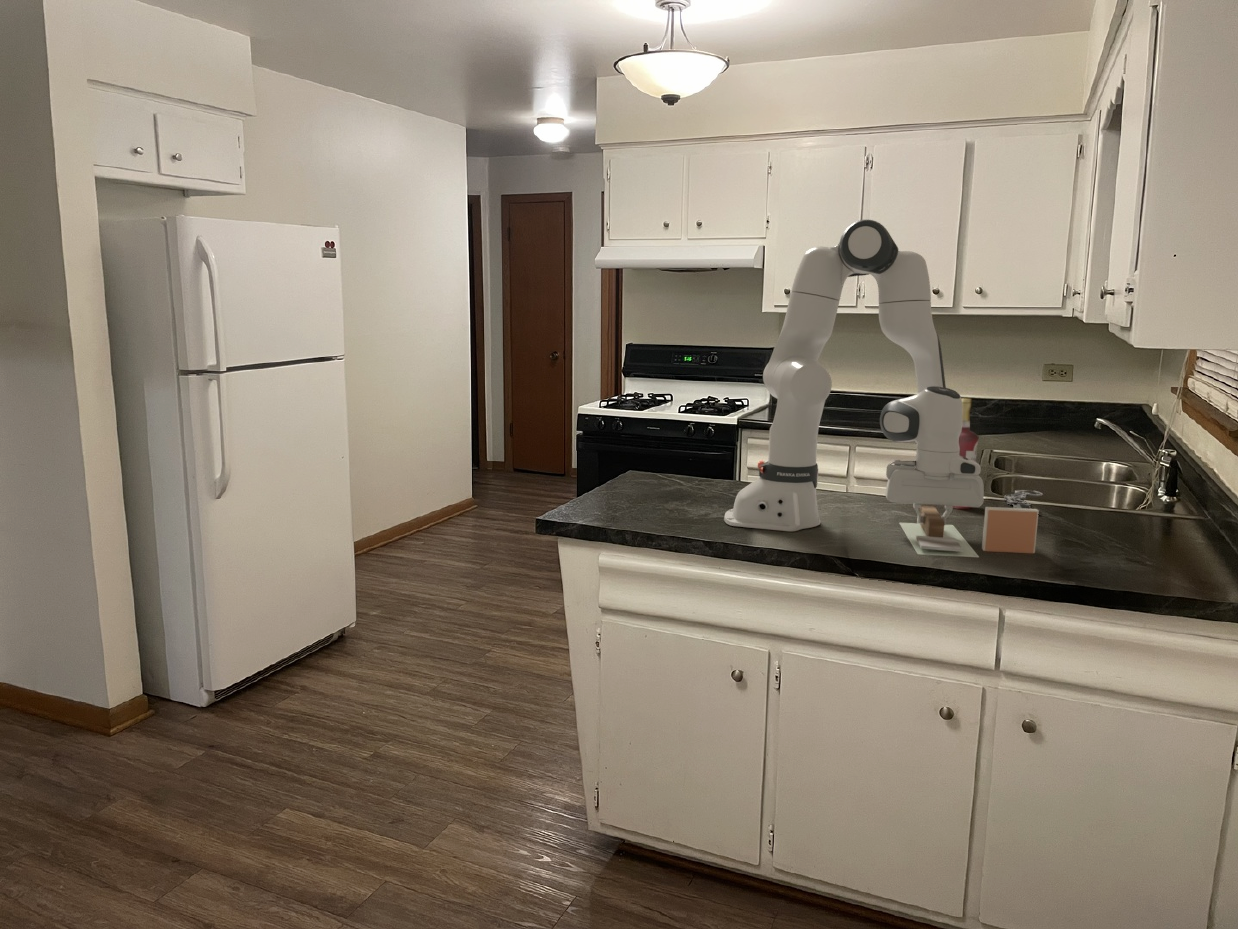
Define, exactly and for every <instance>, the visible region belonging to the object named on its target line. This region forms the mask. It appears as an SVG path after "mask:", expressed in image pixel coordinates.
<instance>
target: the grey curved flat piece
mask: <svg viewBox="0 0 1238 929" xmlns="http://www.w3.org/2000/svg"><path fill="white" fill-rule="evenodd" d="M1043 496H1044V494H1043V492H1040V491H1037V490H1034V489H1033V490H1032V489H1026V490H1025V489H1016V490H1014V491H1012V492H1008V493H1007V494H1005V495H1004V496H1003V497H1004V498H1003V500H1004V499H1006V500H1007V501H1006V500H1005V501H1006V504H1007V505H1008V504H1010V505H1013V507H1012V508H1026V509H1032V508H1031V503H1030V502H1027V501H1026V500H1027V498H1029V497H1030V498H1036V497H1043ZM1024 502H1026V503H1024ZM1029 503H1030V504H1029ZM1010 505H1009V506H1010Z"/></svg>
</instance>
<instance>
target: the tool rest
mask: <svg viewBox="0 0 1238 929" xmlns="http://www.w3.org/2000/svg"><path fill="white" fill-rule="evenodd" d="M898 524H899V525H900V527H901V528H902V530H903V532H904V533H905V535H906V538H907V539H908V541H909V542H910V544H911V546H912V547H913V549H914V550H915V552H916V554H917V555H920V556H921V555H926V556H941V557H942V556H943V557H945V556H946V557H966V558H980V556H979V555H978V554H977V552H976V551H975V550H974V549H973V547H972V546H971V545H970V544H969V543H968V541H967V540H966V539H965V538H964V537H963V535H962V534H961V533H960V532H959V531H958V529H957V528H956V527H955V526H954V525H953V524H946V525H944V534H943V537H944V538H956V540H957V541H958V543H959V544H960V546H961V547H962V552H960V551H946V550H932V549H921V547H920V545H919V543H918V541H917V539H916V536H926V534H925V532H924V531H923V529H922V527H921V525H920V524H919V523H917V522H916V523H914V522H899V523H898Z"/></svg>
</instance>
